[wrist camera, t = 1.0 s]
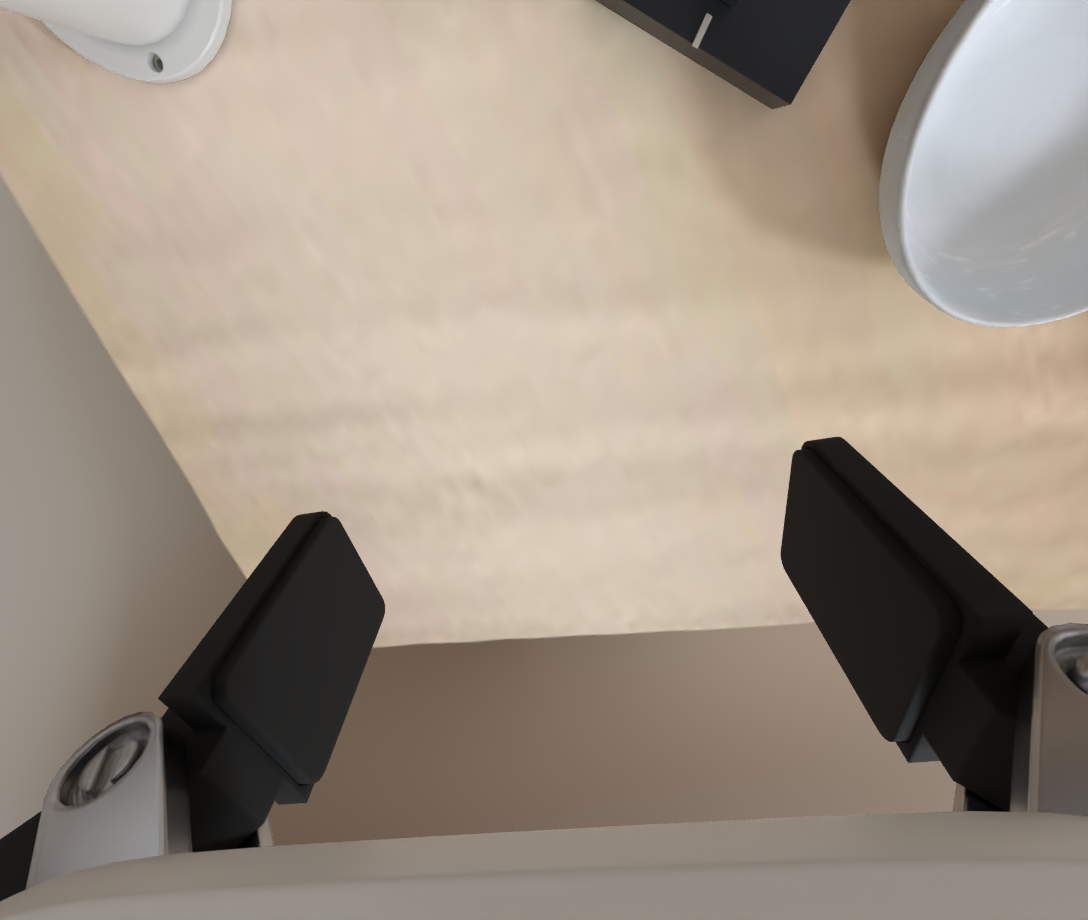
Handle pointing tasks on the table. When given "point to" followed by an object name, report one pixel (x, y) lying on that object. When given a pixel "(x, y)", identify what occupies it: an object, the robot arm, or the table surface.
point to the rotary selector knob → (731, 2)
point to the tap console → (742, 38)
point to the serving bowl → (995, 166)
